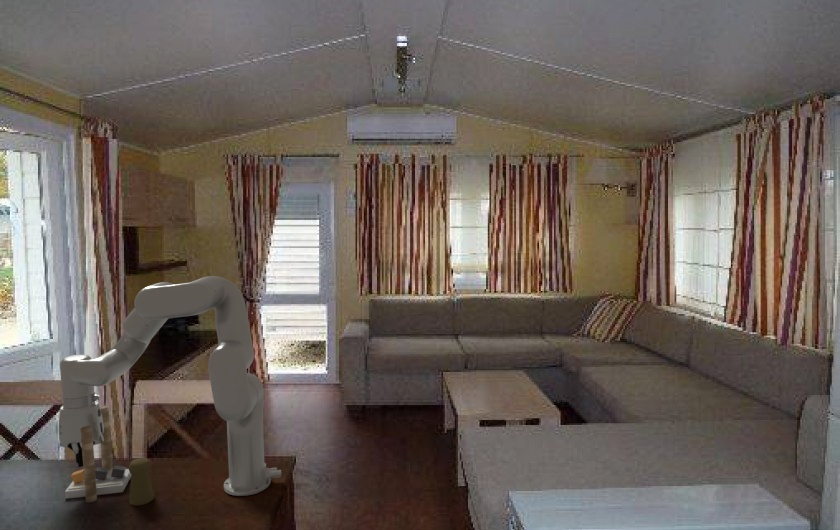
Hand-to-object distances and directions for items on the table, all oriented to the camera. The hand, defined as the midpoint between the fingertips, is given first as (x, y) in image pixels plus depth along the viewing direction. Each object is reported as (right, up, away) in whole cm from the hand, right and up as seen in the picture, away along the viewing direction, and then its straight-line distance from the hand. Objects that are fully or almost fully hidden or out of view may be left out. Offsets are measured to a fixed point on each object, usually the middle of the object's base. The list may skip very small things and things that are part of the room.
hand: (83, 464), depth 157 cm
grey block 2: (+8, -5, +2) cm, 10 cm away
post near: (+5, -7, -6) cm, 11 cm away
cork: (+19, -8, -5) cm, 21 cm away
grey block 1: (+4, -5, +1) cm, 6 cm away
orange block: (-1, -5, 0) cm, 5 cm away
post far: (+2, -6, +9) cm, 11 cm away
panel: (+4, -7, +2) cm, 8 cm away
